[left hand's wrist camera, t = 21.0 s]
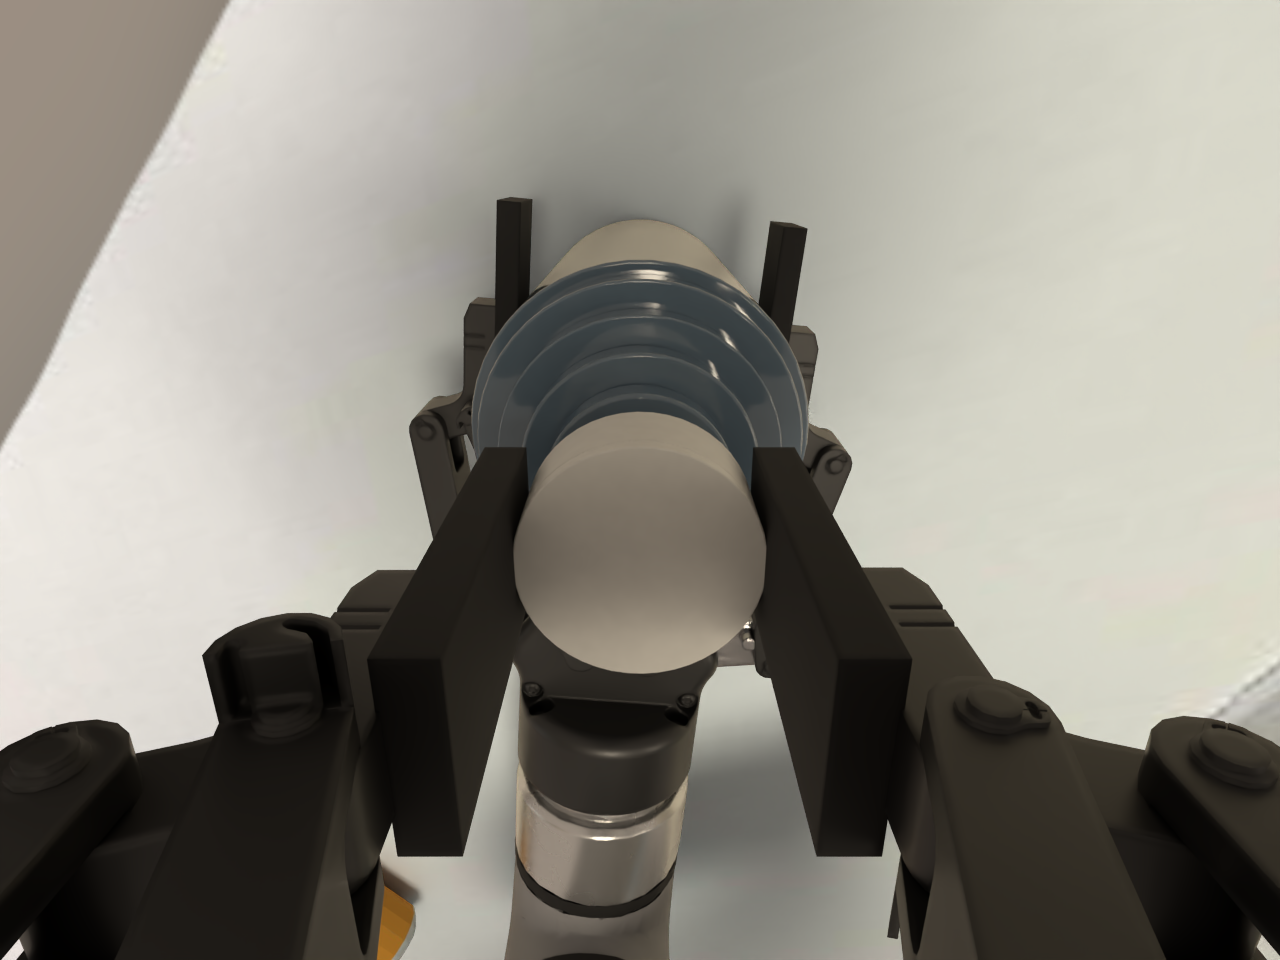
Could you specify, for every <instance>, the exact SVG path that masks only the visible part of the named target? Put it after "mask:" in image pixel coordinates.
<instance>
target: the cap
mask: <svg viewBox="0 0 1280 960" xmlns="http://www.w3.org/2000/svg"><path fill="white" fill-rule="evenodd" d="M513 555H514V570H515V583H516V589H517V592H518V595H519V598H520V600H521V602H522V604H523V606H524V608H525V610H526V612H527V614H528V615H529V617H530V618H531V620H532V621H533V623H534V624H535V625H536V626H537V628H538V629H539V630H540V631H541V632H542V633H543V634H544V635H545V636H546V637H547V638H548V639H549V640H550V641H551V642H552V643H554V644H555V645H556V646H557V647H559V648H560V649H562V650H563V651H565V652H566V653H567V654H569V655H571V656H573V657H575V658H577V659H579V660H581V661H582V662H585V663H588V664H590V665H593V666H596V667H599V668H603V669H607V670H610V671H616V672H623V673H639V674H645V673H658V672H664V671H669V670H674V669H678V668H681V667H684V666H687V665H690V664H692V663H695V662H697V661H699V660H702V659H704V658H706V657H707V656H709V655H711V654H712V653H714V652H716V651H717V650H719V649H720V648H721V647H723V646H724V645H725V644H727V643H728V642H729V641H730V640H731V639H732V638H733V637H734V636H735V635H736V634H737V633H738V632H739V631H740V630H741V629H742V628H743V626H744V625H745V624H746V623H747V621H748V620H749V619H750V617H751V615H752V614H753V612H754V610H755V608H756V607H757V605H758V602H759V600H760V598H761V595H762V593H763V589H764V577H765V562H766V538H765V533H764V530H763V527H762V524H761V521H760V518H759V515H758V512H757V510H756V507H755V504H754V501H753V498H752V495H751V492H750V489H749V486H748V483H747V480H746V477H745V475H744V474H743V472H742V470H741V468H740V466H739V464H738V463H737V461H736V460H735V458H734V457H733V456H732V454H731V453H730V452H729V451H728V450H727V449H726V448H725V446H724V445H723V444H722V443H721V442H719V441H718V440H717V439H716V438H715V437H713V436H712V435H711V434H710V433H708V432H706V431H705V430H703V429H702V428H700V427H698V426H697V425H694V424H692V423H690V422H688V421H685V420H683V419H680V418H677V417H673V416H670V415H666V414H660V413H654V412H628V413H619V414H615V415H610V416H606V417H603V418H600V419H597V420H595V421H592V422H590V423H588V424H586V425H584V426H582V427H580V428H578V429H577V430H575V431H574V432H572V433H571V434H569V435H568V436H566V437H565V438H564V439H563V440H562V441H561V442H560V443H559V444H557V445H556V446H555V447H554V449H553V450H552V451H551V452H550V453H549V455H548V456H547V457H546V458H545V460H544V461H543V463H542V465H541V466H540V468H539V469H538V471H537V474H536V476H535V478H534V480H533V483H532V486H531V489H530V492H529V494H528V497H527V500H526V503H525V506H524V509H523V512H522V515H521V518H520V521H519V524H518V527H517V530H516V534H515V538H514V543H513Z"/></svg>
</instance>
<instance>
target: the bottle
mask: <svg viewBox="0 0 1280 960" xmlns="http://www.w3.org/2000/svg"><path fill="white" fill-rule="evenodd" d="M628 412H654V413H660V414H666V415H670V416H673V417H677V418H680V419H683V420H685V421H688V422H690V423H692V424H694V425H697V426H698V427H700V428H702V429H703V430H705V431H706V432H708V433H710V434H711V435H712V436H713V437H715V438H716V439H717V440H718V441H719V442H721V443H722V444H723V445H724V446H725V448H726V449H727V450H728V451H729V452H730V453H731V454H732V456H733V457H734V458H735V460H736V461H737V463H738V464H739V466H740V468H741V470H742V472H743V474H744V475H745V477H746V480H747V483H748V486H749V489H750V492H751V475H752V457H753V447H795V449H796V450H797V452H798V454H799V456H800V458H801V459H802V461H803V459H804V455H805V451H806V446H807V438H808V426H809V417H808V401H807V396H806V390H805V385H804V380H803V377H802V374H801V371H800V369H799V366H798V363H797V360H796V358H795V356H794V354H793V352H792V350H791V348H790V346H789V344H788V342H787V340H786V339H785V337H784V336H783V335H782V333H781V332H780V330H779V329H778V327H777V326H776V325H775V323H774V322H773V321H772V319H771V318H770V317H769V316H768V315H767V314H766V313H765V311H764V310H763V309H762V308H761V307H760V306H759V305H758V303H757V302H756V301H755V300H754V299H753V298H752V297H751V296H750V294H749V293H748V292H747V291H746V290H745V289H744V288H743V286H742V285H741V284H740V283H739V282H738V281H737V280H736V278H735V277H734V276H733V275H732V274H731V273H730V272H729V270H728V269H727V268H726V267H725V266H724V265H723V264H722V262H721V261H720V260H719V259H718V258H717V257H716V256H715V255H714V253H713V252H712V251H711V250H710V249H709V248H708V247H707V246H706V245H705V244H704V243H702V242H701V241H700V240H699V239H698V238H696V237H695V236H693V235H692V234H690V233H688V232H687V231H685V230H683V229H681V228H678V227H676V226H674V225H671V224H667V223H664V222H660V221H654V220H626V221H620V222H616V223H613V224H609V225H606V226H604V227H602V228H599V229H597V230H595V231H593V232H592V233H590V234H588V235H587V236H585V237H584V238H583V239H581V240H580V241H579V242H578V243H576V244H575V245H574V246H573V247H572V248H571V249H570V250H569V251H568V252H567V254H566V255H565V256H564V257H563V258H562V259H561V260H560V261H559V263H558V264H557V265H556V266H555V267H554V268H553V269H552V271H551V272H550V273H549V274H548V275H547V276H546V277H545V279H544V280H543V281H542V282H541V283H540V284H539V285H538V286H537V288H536V289H535V290H534V291H533V292H532V293H531V294H530V296H529V297H528V298H527V299H526V300H525V301H524V302H523V304H522V305H521V306H520V307H519V308H518V309H517V310H516V312H515V313H514V314H513V315H512V316H511V317H510V318H509V320H508V321H507V322H506V323H505V325H504V326H503V328H502V329H501V330H500V332H499V333H498V335H497V336H496V338H495V339H494V341H493V342H492V344H491V346H490V348H489V350H488V352H487V354H486V356H485V358H484V360H483V363H482V366H481V369H480V372H479V375H478V378H477V381H476V386H475V391H474V396H473V401H472V419H471V425H472V437H473V445H474V450H475V454H476V459H477V460H478V458H479V457H480V455H481V453H482V451H483V449H484V448H485V447H526V449H527V467H528V484H529V492H530V489H531V486H532V483H533V480H534V478H535V476H536V474H537V471H538V469H539V468H540V466H541V465H542V463H543V461H544V460H545V458H546V457H547V456H548V455H549V453H550V452H551V451H552V450H553V449H554V447H555V446H556V445H557V444H559V443H560V442H561V441H562V440H563V439H564V438H565V437H566V436H568V435H569V434H571V433H572V432H574V431H575V430H577V429H578V428H580V427H582V426H584V425H586V424H588V423H590V422H592V421H595V420H597V419H600V418H603V417H606V416H610V415H615V414H619V413H628Z"/></svg>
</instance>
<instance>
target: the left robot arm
mask: <svg viewBox="0 0 1280 960" xmlns="http://www.w3.org/2000/svg"><path fill="white" fill-rule="evenodd" d="M528 494H529V484H528V467H527V449H526V447H485V448H484V449H483V451H482V453H481V455H480V457H479V458H478V460H477V462H476V464H475V466H474V467H473V469H472V471H471V473H470V475H469V476H468V478H467V480H466V482H465V484H464V485H463V487H462V489H461V491H460V492H459V494H458V496H457V498H456V500H455V501H454V503H453V505H452V507H451V509H450V510H449V512H448V514H447V516H446V518H445V519H444V521H443V523H442V525H441V527H440V528H439V530H438V532H437V534H436V536H435V537H434V539H433V541H432V543H431V545H430V546H429V548H428V550H427V552H426V554H425V555H424V557H423V559H422V561H421V563H420V564H419V566H418V568H417V570H377V571H375V572H374V573H372V574H371V575H369V576H368V577H366V578H365V579H363V580H362V581H361V582H359V583H358V584H356V585H355V586H353V587H352V588H351V589H350V590H349V592H348V593H347V595H346V596H345V598H344V599H343V601H342V602H341V603H340V605H339V606H338V608H337V612H334V614H333V615H332V616H331V618H329V617H325V616H321V615H317V614H313V613H286V614H281V615H275V616H270V617H265V618H260V619H258V620H255V621H253V622H250V623H247V624H245V625H242V626H239V627H237V628H235V629H233V630H231V631H230V632H228V633H227V634H225V635H223V636H222V637H220V638H219V639H217V640H215V641H214V642H213V644H212V645H211V646H210V647H209V648H208V649H207V650H206V652H205V653H204V654H203V655H202V657H203V661H204V665H205V669H206V673H207V677H208V681H209V685H210V689H211V693H212V697H213V701H214V705H215V709H216V713H217V717H218V721H219V724H218V727H217V729H216V731H215V733H214V736H211V737H208V738H204V739H200V740H197V741H193V742H189V743H184V744H179V745H174V746H169V747H165V748H160V749H155V750H150V751H146V752H141V753H136V754H135V751H134V748H133V744H132V741H131V738H130V735H129V733H128V732H127V731H126V730H125V729H124V728H123V727H121V726H120V725H119V724H118V723H114V722H108V721H102V720H87V721H77V722H69V723H65V724H60V725H56V726H55V727H49V728H46V729H43V730H40V731H37V732H35V733H33V734H32V735H30V736H27V737H25V738H23V739H21V740H19V741H17V742H15V743H13V744H10V745H8V746H7V747H5V748H4V749H3V750H1V751H0V960H1V959H2V958H3V957H4V956H5V955H6V953H7V952H8V951H9V950H10V949H11V948H12V946H13V945H14V944H15V943H16V942H17V940H18V939H20V942H21V944H22V946H23V949H24V951H23V952H22V954H21V955H20V956H19V957H18V958H17V960H377V953H378V944H379V935H380V926H381V917H382V907H383V898H384V889H385V888H384V881H383V874H382V868H381V862H380V856H379V855H380V853H381V850H382V847H383V845H384V842H385V839H386V837H387V834H388V831H389V829H390V826H391V823H392V824H393V830H394V837H395V843H396V849H397V856H398V857H441V856H463V854H464V850H465V846H466V842H467V838H468V834H469V830H470V826H471V822H472V819H473V815H474V811H475V807H476V803H477V799H478V795H479V791H480V787H481V784H482V780H483V776H484V772H485V768H486V764H487V760H488V756H489V752H490V749H491V745H492V741H493V737H494V733H495V729H496V725H497V721H498V717H499V714H500V710H501V706H502V702H503V698H504V694H505V690H506V686H507V682H508V679H509V675H510V671H511V667H512V663H513V659H514V655H515V651H516V647H517V643H518V640H519V636H520V632H521V628H522V624H523V620H524V616H525V612H526V610H525V608H524V606H523V604H522V602H521V600H520V598H519V595H518V592H517V589H516V583H515V570H514V555H513V543H514V538H515V534H516V530H517V527H518V524H519V521H520V518H521V515H522V512H523V509H524V506H525V503H526V500H527V497H528ZM751 495H752V498H753V501H754V504H755V507H756V510H757V512H758V515H759V518H760V521H761V524H762V527H763V530H764V533H765V538H766V562H765V577H764V589H763V593H762V595H761V598H760V600H759V602H758V605H757V607H756V608H755V610H754V614H755V618H756V622H757V626H758V630H759V634H760V638H761V642H762V645H763V649H764V653H765V657H766V661H767V665H768V669H769V673H770V677H771V681H772V684H773V688H774V692H775V696H776V700H777V704H778V708H779V712H780V716H781V719H782V723H783V727H784V731H785V735H786V739H787V743H788V747H789V751H790V754H791V758H792V762H793V766H794V770H795V774H796V778H797V782H798V786H799V790H800V793H801V797H802V801H803V805H804V809H805V813H806V817H807V821H808V825H809V828H810V832H811V836H812V840H813V844H814V848H815V852H816V856H817V857H882V853H883V846H884V840H885V833H886V827H887V820H888V821H889V824H890V826H891V829H892V832H893V834H894V837H895V839H896V842H897V845H898V847H899V850H900V853H901V856H900V862H899V868H898V874H897V880H896V886H895V891H894V897H893V903H892V909H891V915H890V922H889V929H888V936H887V937H889V938H895V939H898V934H899V928H900V933H901V942H902V951H903V960H1267V959H1266V958H1265V957H1264V956H1263V954H1262V953H1261V952H1260V951H1259V950H1258V948H1257V945H1258V942H1259V940H1260V938H1261V935H1263V937H1264V938H1265V939H1266V940H1267V941H1268V942H1269V944H1270V945H1271V946H1272V947H1273V948H1274V950H1275V951H1276V952H1277V953H1278V954H1279V955H1280V747H1279V746H1278V745H1276V744H1275V743H1273V742H1272V741H1270V740H1267V739H1265V738H1263V737H1261V736H1259V735H1257V734H1255V733H1252V732H1250V731H1248V730H1247V729H1245V728H1243V727H1240V726H1237V725H1234V724H1231V723H1229V724H1228V723H1225V722H1224V721H1219V720H1214V719H1209V718H1199V717H1189V716H1181V717H1175V718H1169V719H1164V720H1162V721H1161V722H1160V723H1158V724H1157V725H1156V726H1155V727H1154V728H1152V729H1151V732H1150V736H1149V739H1148V742H1147V745H1146V749H1145V750H1141V749H1136V748H1131V747H1127V746H1122V745H1117V744H1112V743H1107V742H1103V741H1098V740H1093V739H1088V738H1084V737H1081V736H1077V735H1073V734H1070V733H1066V732H1065V730H1064V728H1063V725H1062V723H1061V721H1060V720H1059V719H1058V717H1057V716H1056V715H1055V713H1054V712H1053V711H1052V709H1051V708H1050V707H1049V706H1048V705H1047V704H1045V703H1044V702H1043V701H1041V700H1040V699H1038V698H1037V697H1036V696H1034V695H1033V694H1032V693H1030V692H1028V691H1026V690H1024V689H1021V688H1019V687H1017V686H1014V685H1012V684H1010V683H1008V682H1005V681H1000V680H996V679H993V677H992V676H991V674H990V673H989V672H988V670H987V669H986V667H985V666H984V664H983V663H982V661H981V660H980V659H979V657H978V656H977V654H976V653H975V651H974V650H973V649H972V647H971V646H970V644H969V643H968V641H967V640H966V638H965V637H964V636H963V634H962V633H961V631H960V630H959V628H958V627H955V626H954V621H953V620H952V618H951V617H950V615H949V614H948V612H947V611H946V610H945V609H943V605H942V604H941V602H940V601H939V600H938V598H937V597H936V595H935V594H934V592H933V591H932V589H931V588H930V587H929V585H928V584H926V583H925V582H923V581H922V580H920V579H919V578H917V577H916V576H914V575H913V574H911V573H910V572H908V571H907V570H905V569H904V568H862V567H861V565H860V564H859V562H858V560H857V558H856V556H855V555H854V553H853V551H852V549H851V547H850V546H849V544H848V542H847V540H846V538H845V537H844V535H843V533H842V531H841V529H840V528H839V526H838V524H837V522H836V520H835V519H834V517H833V515H832V513H831V511H830V510H829V508H828V506H827V504H826V502H825V501H824V499H823V497H822V495H821V493H820V492H819V490H818V488H817V486H816V485H815V483H814V481H813V479H812V477H811V476H810V474H809V472H808V470H807V468H806V467H805V465H804V463H803V461H802V459H801V458H800V456H799V454H798V452H797V450H796V449H795V447H753V457H752V475H751Z"/></svg>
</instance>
